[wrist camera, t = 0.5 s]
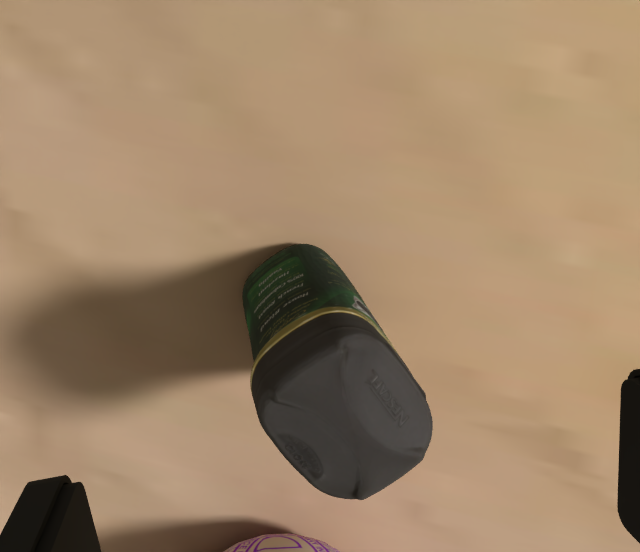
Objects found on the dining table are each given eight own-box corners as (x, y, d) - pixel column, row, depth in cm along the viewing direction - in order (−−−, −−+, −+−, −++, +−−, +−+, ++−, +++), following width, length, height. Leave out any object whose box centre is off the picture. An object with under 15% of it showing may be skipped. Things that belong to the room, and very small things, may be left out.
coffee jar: (223, 287, 45) (223, 409, 28) (309, 224, 45) (365, 307, 27) (298, 379, 48) (341, 541, 31) (379, 321, 48) (470, 452, 30)
